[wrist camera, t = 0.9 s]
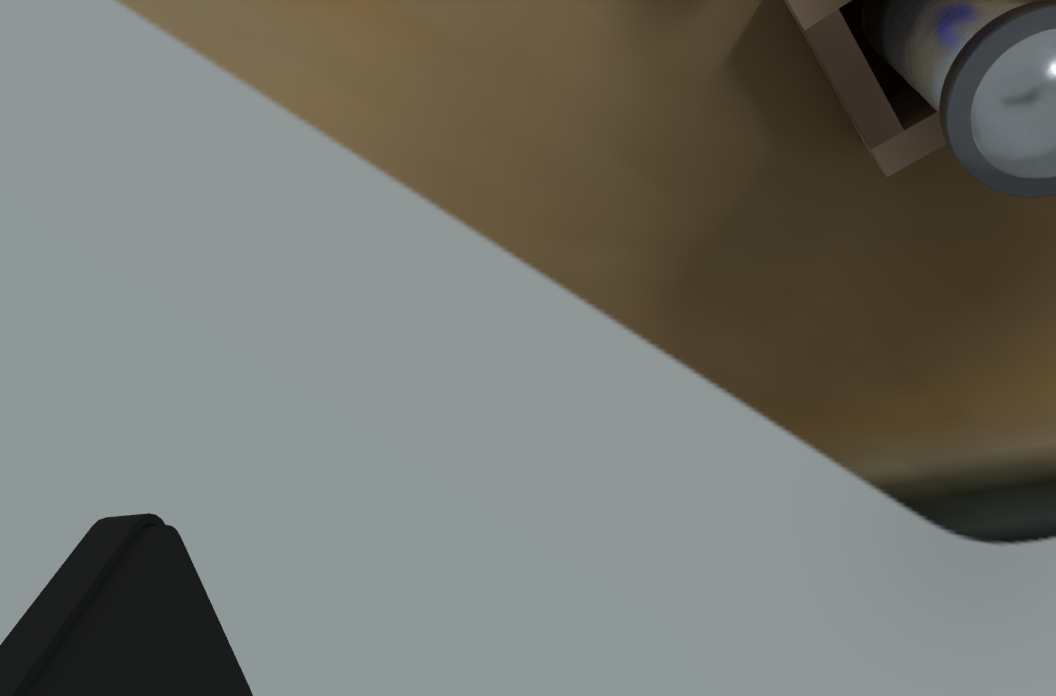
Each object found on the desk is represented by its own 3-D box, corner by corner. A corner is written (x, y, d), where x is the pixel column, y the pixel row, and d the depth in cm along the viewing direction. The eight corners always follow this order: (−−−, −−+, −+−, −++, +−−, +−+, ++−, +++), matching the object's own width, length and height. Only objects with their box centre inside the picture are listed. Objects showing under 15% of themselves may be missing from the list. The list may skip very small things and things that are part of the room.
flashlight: (948, -88, 28) (1113, -37, 18) (1003, 27, 29) (1184, 132, 19) (824, -8, 29) (917, 79, 19) (882, 99, 30) (996, 230, 21)
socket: (969, -149, 27) (1005, -145, 24) (1055, 37, 29) (1096, 59, 26) (773, -18, 29) (786, -2, 26) (866, 147, 31) (886, 177, 28)
